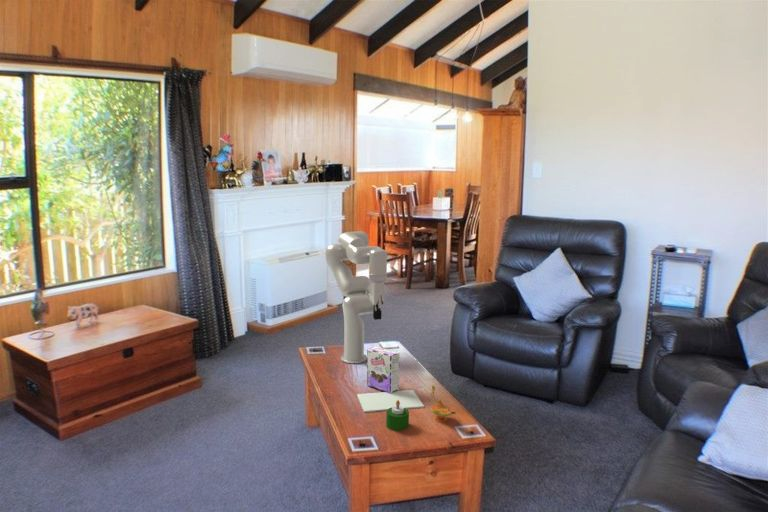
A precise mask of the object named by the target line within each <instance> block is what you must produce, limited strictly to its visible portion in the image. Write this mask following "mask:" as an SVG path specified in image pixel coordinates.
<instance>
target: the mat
mask: <svg viewBox="0 0 768 512" xmlns="http://www.w3.org/2000/svg"><path fill="white" fill-rule="evenodd" d="M356 396H357V399H358V401H359V405H360V406H361V408H362V411H363V413H372V412H373V413H374V412H375V413H376V412H384V411H385V412H386V411H387V410H388V409H389V408H392V407H394V406H396V401H397V400H399V402H400V405H399V406H401V407H403V408H406V409H407V410H410V409H411V410H412V409H420V408H424V407H425V406H424V404H423V402H422V401H421V399H420V398H419V396H418V395H417V393H416V392H415V390H414V389H407V390H398V391H395V392H392V393H388V392H385V391H383V392H381V391H380V392H372V393H371V392H370V393H367V392H365V393H356Z"/></svg>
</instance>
